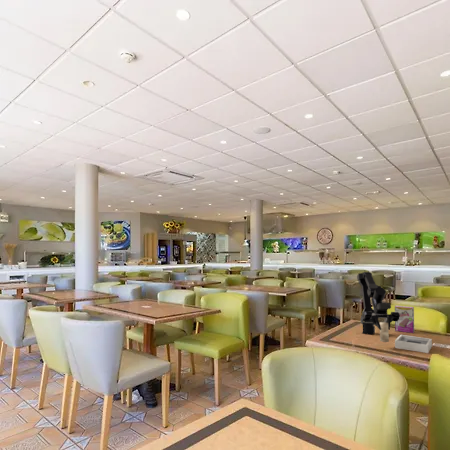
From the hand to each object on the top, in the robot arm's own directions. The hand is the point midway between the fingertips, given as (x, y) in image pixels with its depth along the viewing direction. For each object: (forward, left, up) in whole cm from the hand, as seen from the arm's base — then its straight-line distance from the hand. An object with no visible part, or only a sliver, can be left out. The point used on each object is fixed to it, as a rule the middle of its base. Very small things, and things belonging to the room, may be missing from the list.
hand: (384, 329), depth 192 cm
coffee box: (-17, +62, -11) cm, 65 cm away
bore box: (+12, +14, -11) cm, 21 cm away
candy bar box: (+1, +49, -11) cm, 50 cm away
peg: (-1, +1, -7) cm, 7 cm away
